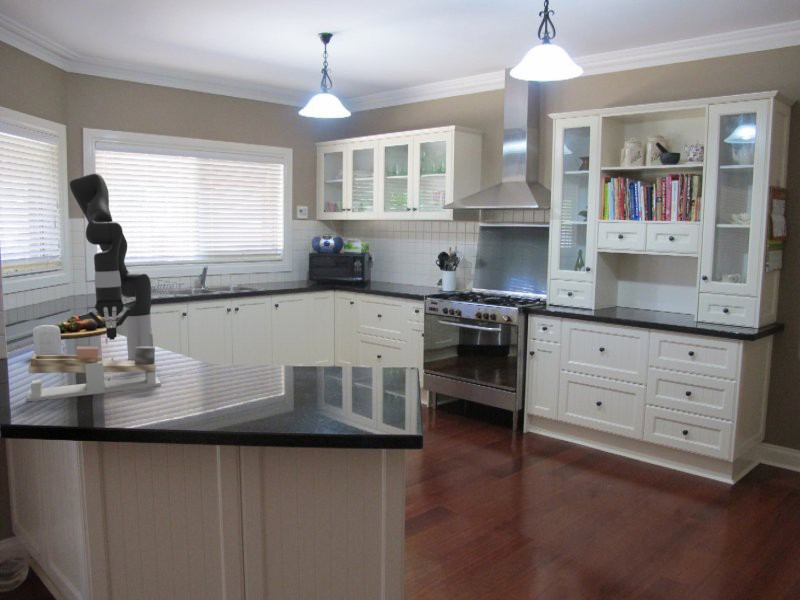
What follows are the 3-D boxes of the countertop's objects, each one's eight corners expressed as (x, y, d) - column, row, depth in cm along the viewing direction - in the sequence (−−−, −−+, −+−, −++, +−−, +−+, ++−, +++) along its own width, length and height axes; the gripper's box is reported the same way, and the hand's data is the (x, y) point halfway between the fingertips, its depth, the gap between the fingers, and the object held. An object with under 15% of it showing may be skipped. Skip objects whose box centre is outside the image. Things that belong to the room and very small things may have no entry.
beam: (152, 366, 225) (153, 345, 224) (155, 371, 217) (156, 350, 216) (30, 367, 209) (30, 345, 209) (28, 373, 201) (29, 350, 201)
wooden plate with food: (48, 331, 338) (46, 314, 337) (116, 326, 347) (115, 310, 346) (34, 341, 307) (32, 324, 306) (109, 336, 317) (108, 319, 316)
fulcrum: (156, 378, 227) (154, 350, 226) (160, 385, 217) (158, 357, 215) (29, 393, 211) (26, 363, 210) (26, 402, 200) (23, 371, 199)
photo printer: (63, 353, 275) (61, 323, 274) (60, 355, 271) (57, 325, 270) (37, 354, 274) (34, 324, 273) (33, 356, 270) (30, 326, 268)
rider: (97, 361, 216) (97, 346, 215) (97, 364, 211) (98, 349, 211) (76, 362, 213) (76, 346, 213) (76, 364, 208) (76, 349, 208)
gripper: (129, 283, 219) (133, 335, 221) (85, 285, 213) (89, 339, 215) (131, 285, 212) (134, 339, 214) (85, 287, 206) (89, 343, 208)
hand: (111, 339), depth 214 cm, fingers closed
